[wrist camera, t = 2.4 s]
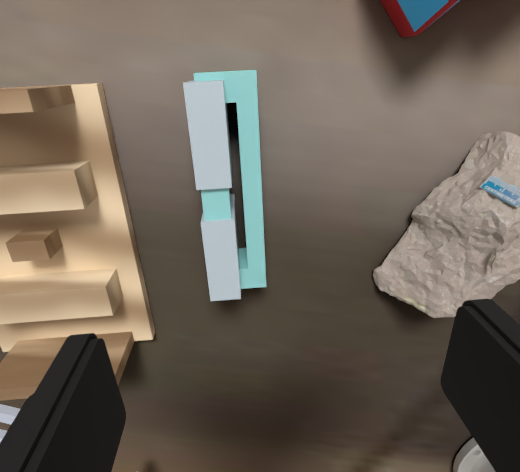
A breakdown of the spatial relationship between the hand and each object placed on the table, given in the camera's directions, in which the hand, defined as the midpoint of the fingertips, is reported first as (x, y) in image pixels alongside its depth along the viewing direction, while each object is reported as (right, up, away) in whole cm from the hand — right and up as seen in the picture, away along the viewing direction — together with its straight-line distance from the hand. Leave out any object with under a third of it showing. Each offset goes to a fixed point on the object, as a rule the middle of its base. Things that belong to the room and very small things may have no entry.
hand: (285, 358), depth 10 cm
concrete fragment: (+14, +4, +19) cm, 24 cm away
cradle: (-16, +4, +16) cm, 23 cm away
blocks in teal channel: (-4, +7, +16) cm, 18 cm away
